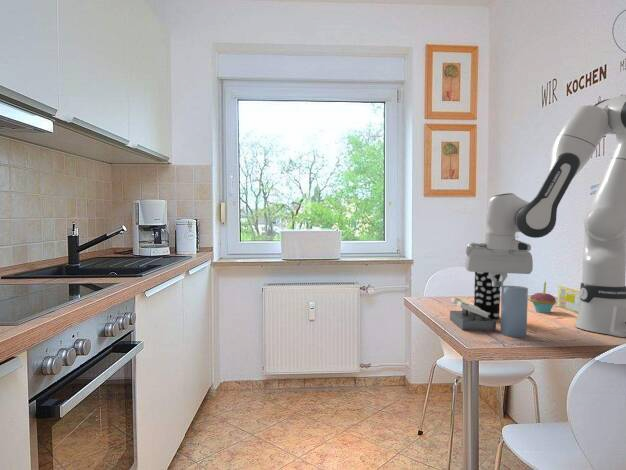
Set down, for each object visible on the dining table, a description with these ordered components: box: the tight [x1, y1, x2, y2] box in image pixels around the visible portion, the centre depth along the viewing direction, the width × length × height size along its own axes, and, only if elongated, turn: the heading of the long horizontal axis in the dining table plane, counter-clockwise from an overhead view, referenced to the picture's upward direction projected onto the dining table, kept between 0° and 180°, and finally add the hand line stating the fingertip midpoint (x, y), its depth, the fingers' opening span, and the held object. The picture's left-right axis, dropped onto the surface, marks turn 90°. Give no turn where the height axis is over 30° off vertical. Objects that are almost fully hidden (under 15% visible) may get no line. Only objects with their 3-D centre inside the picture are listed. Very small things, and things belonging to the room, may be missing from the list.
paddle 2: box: [456, 299, 489, 318], centre depth 129 cm, size 9×4×2 cm, turn 86°
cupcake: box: [529, 280, 557, 314], centre depth 155 cm, size 9×8×12 cm
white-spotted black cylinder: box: [473, 272, 502, 321], centre depth 144 cm, size 8×8×20 cm
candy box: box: [556, 286, 581, 314], centre depth 158 cm, size 16×2×8 cm, turn 0°
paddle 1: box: [449, 296, 481, 310], centre depth 136 cm, size 9×4×2 cm, turn 86°
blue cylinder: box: [500, 285, 529, 338], centre depth 122 cm, size 7×7×14 cm
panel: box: [449, 308, 497, 332], centre depth 133 cm, size 10×14×5 cm
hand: (497, 286), depth 133 cm, fingers closed
